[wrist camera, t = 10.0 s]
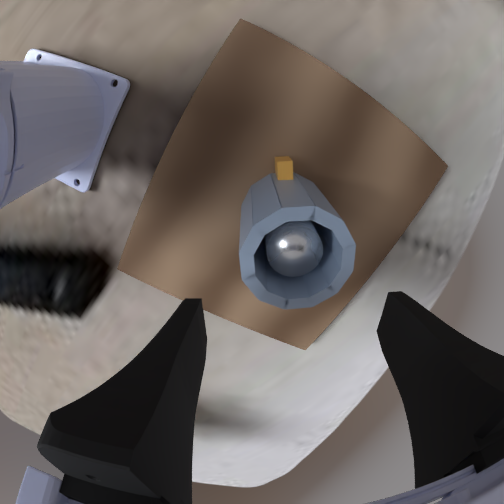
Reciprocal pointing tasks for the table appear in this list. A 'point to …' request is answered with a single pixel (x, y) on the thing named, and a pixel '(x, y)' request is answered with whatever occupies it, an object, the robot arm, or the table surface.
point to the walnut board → (263, 163)
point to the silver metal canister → (294, 248)
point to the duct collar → (285, 210)
